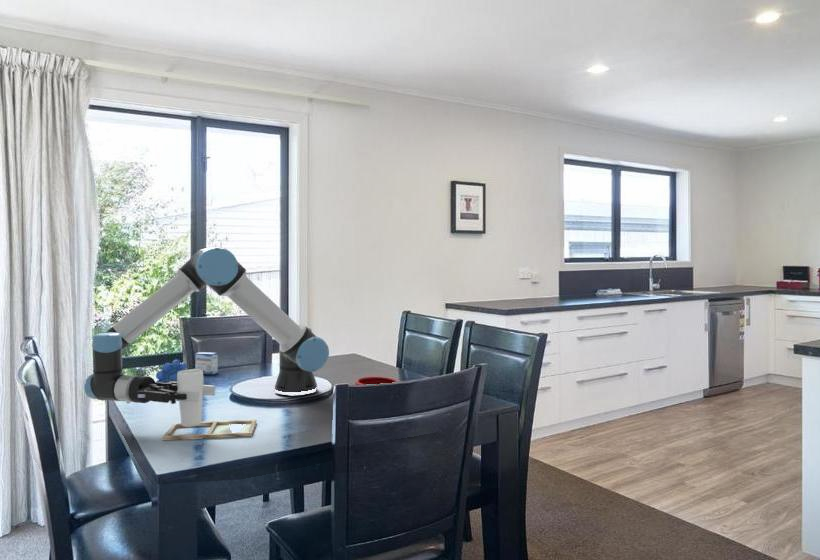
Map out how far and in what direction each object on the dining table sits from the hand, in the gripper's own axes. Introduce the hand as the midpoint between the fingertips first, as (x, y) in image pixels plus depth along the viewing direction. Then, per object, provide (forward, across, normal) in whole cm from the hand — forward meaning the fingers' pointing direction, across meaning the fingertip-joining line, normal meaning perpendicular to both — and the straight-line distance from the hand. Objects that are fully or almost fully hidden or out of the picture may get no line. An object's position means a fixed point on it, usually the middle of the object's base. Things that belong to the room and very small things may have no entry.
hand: (206, 393), depth 157 cm
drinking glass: (-5, 0, -9) cm, 10 cm away
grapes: (-41, -38, -11) cm, 57 cm away
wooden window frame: (0, -2, -11) cm, 11 cm away
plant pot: (+41, -26, -12) cm, 50 cm away
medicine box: (-50, -72, -12) cm, 88 cm away
